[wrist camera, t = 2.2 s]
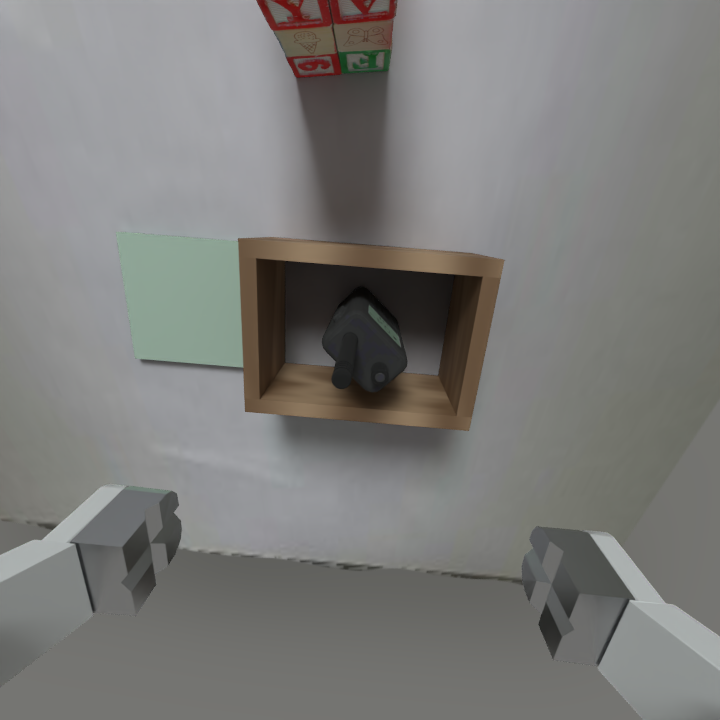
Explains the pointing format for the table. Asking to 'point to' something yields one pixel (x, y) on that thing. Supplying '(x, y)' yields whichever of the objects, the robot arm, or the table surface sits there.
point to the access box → (323, 400)
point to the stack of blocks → (332, 34)
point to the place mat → (182, 298)
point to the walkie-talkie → (364, 343)
